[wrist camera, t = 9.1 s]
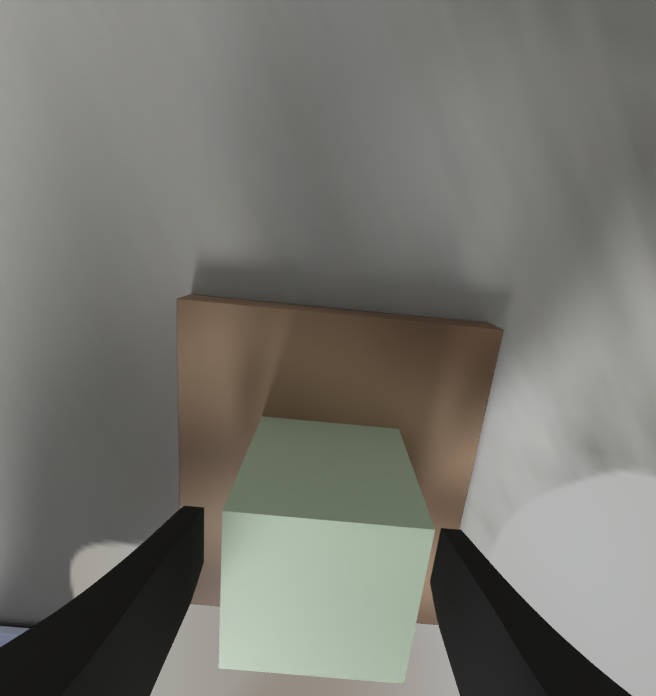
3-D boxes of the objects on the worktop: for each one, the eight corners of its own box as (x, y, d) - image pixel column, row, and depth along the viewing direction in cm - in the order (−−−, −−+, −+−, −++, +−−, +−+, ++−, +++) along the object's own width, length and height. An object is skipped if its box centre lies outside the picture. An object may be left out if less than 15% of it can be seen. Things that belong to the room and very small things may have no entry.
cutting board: (430, 599, 17) (437, 624, 16) (191, 578, 17) (181, 603, 16) (489, 322, 14) (503, 329, 13) (189, 294, 14) (176, 299, 12)
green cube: (380, 541, 15) (403, 683, 10) (255, 530, 15) (218, 668, 10) (398, 428, 14) (435, 530, 9) (262, 416, 14) (221, 511, 9)
